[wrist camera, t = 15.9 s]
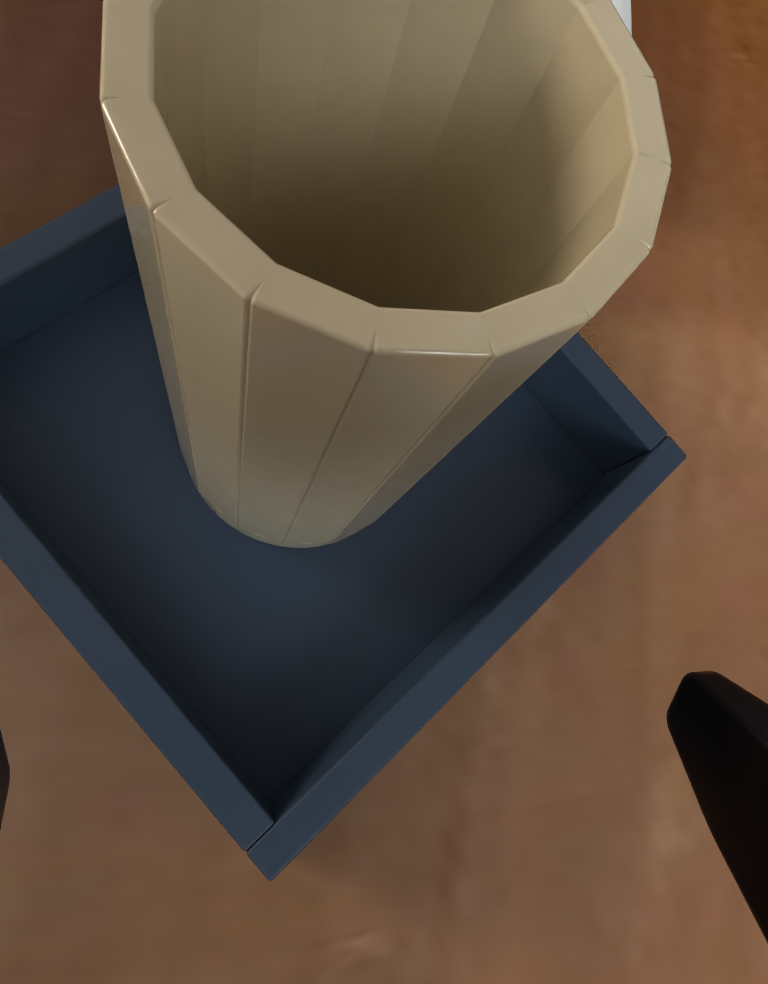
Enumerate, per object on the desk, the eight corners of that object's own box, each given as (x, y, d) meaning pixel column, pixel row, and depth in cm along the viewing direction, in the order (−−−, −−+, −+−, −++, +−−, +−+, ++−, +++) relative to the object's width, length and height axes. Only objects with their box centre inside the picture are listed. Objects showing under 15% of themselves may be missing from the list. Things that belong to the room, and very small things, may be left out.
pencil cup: (434, 383, 20) (710, 15, 8) (367, 581, 18) (605, 449, 7) (234, 301, 19) (243, -229, 8) (143, 498, 17) (-23, 187, 6)
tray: (627, 483, 21) (688, 455, 18) (263, 844, 16) (270, 884, 14) (325, 140, 22) (340, 62, 19) (-111, 396, 17) (-179, 343, 14)
